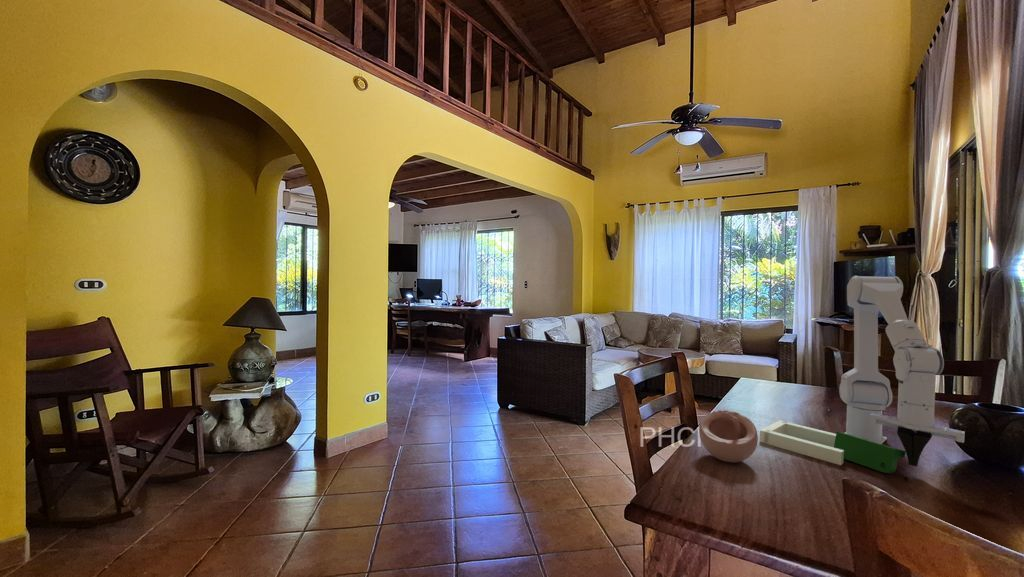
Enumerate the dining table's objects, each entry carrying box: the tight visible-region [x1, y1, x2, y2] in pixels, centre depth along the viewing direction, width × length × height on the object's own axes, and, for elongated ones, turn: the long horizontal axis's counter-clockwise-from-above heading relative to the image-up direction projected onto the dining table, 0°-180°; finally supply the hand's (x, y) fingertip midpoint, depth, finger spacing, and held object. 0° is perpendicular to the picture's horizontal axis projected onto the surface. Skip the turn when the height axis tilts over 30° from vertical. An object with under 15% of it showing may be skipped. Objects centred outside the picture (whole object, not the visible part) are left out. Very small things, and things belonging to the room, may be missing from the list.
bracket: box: [759, 419, 845, 466], centre depth 105 cm, size 14×17×3 cm
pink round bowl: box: [698, 409, 759, 463], centre depth 95 cm, size 12×12×12 cm
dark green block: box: [833, 431, 906, 474], centre depth 95 cm, size 12×6×9 cm, turn 17°
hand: (913, 464), depth 90 cm, fingers closed
